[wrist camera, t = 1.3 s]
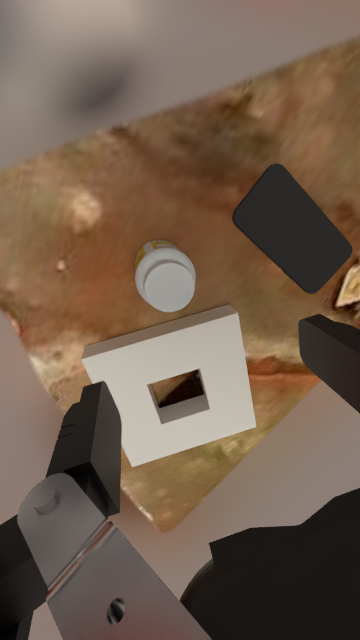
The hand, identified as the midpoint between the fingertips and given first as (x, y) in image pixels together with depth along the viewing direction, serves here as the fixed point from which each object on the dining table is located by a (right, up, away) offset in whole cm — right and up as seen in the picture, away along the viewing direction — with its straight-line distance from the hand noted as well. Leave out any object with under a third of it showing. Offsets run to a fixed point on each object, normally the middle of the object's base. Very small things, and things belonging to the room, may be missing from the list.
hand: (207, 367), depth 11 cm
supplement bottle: (-3, +8, +19) cm, 21 cm away
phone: (+12, +12, +20) cm, 27 cm away
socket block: (-2, -7, +25) cm, 26 cm away
